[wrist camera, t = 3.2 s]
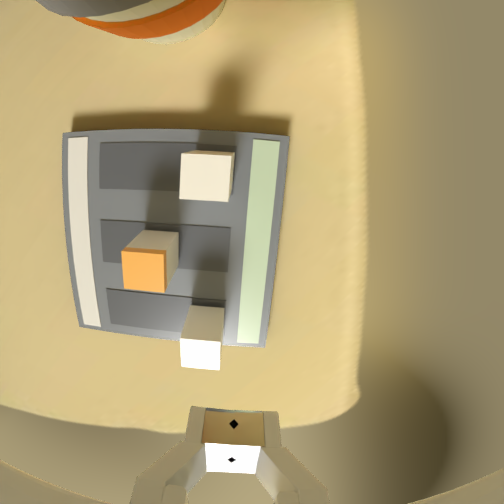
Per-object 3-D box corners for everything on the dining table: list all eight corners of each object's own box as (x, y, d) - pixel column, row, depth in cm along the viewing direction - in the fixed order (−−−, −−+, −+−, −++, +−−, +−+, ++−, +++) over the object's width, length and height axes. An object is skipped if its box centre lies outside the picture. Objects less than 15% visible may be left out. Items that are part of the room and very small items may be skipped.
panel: (71, 132, 24) (62, 132, 22) (287, 136, 24) (289, 136, 23) (85, 319, 30) (79, 327, 29) (264, 338, 31) (265, 348, 29)
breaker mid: (142, 229, 25) (121, 251, 20) (178, 232, 25) (163, 254, 20) (144, 262, 26) (124, 288, 21) (178, 264, 26) (164, 292, 21)
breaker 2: (190, 305, 27) (179, 338, 23) (224, 308, 27) (220, 341, 23) (190, 331, 28) (181, 366, 24) (223, 334, 28) (219, 370, 24)
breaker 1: (194, 150, 23) (181, 153, 18) (234, 152, 23) (231, 156, 18) (192, 186, 24) (179, 198, 19) (232, 189, 24) (228, 201, 19)
